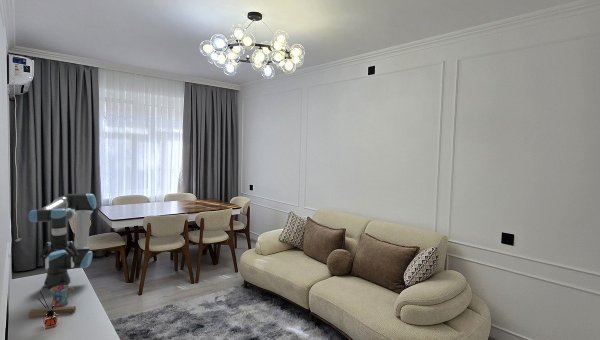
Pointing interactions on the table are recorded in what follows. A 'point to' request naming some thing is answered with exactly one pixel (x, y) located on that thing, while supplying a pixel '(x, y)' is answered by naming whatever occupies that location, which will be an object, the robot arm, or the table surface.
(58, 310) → the board
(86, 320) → the table surface
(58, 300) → the mug
